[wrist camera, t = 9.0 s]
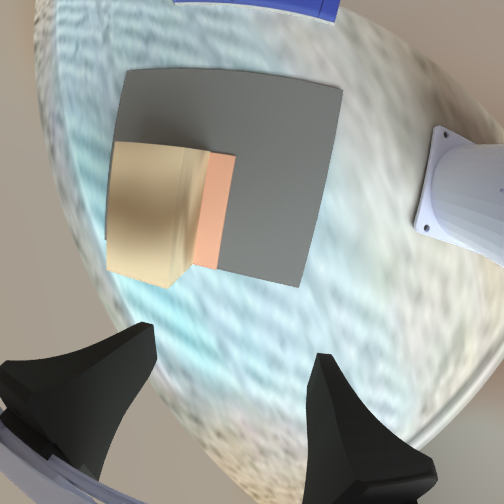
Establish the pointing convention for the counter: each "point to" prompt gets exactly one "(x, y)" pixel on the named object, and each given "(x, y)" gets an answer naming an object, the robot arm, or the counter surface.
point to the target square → (213, 209)
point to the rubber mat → (244, 154)
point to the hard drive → (280, 7)
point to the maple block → (154, 210)
